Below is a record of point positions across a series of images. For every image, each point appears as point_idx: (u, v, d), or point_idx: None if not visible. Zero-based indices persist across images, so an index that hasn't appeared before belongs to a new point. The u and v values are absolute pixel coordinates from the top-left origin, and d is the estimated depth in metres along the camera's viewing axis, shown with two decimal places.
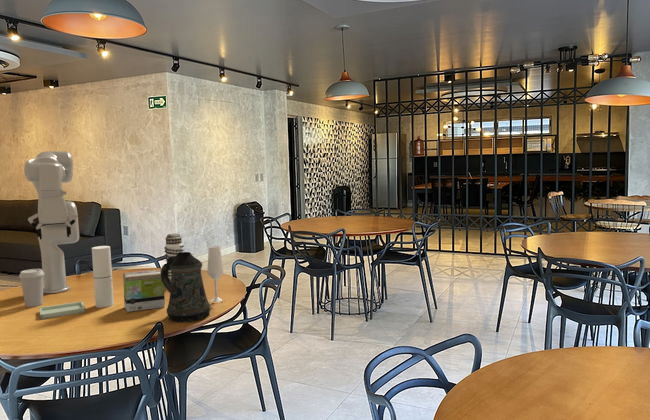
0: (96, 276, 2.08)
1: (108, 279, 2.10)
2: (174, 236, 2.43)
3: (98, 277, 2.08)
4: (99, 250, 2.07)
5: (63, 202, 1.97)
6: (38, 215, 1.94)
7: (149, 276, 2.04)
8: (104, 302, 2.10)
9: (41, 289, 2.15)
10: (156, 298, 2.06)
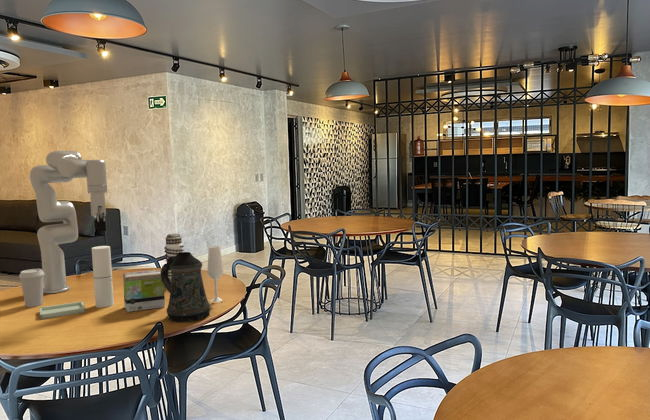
0: (96, 276, 2.08)
1: (108, 279, 2.10)
2: (174, 236, 2.43)
3: (98, 277, 2.08)
4: (99, 250, 2.07)
5: None
6: (103, 208, 2.05)
7: (149, 276, 2.04)
8: (104, 302, 2.10)
9: (41, 289, 2.15)
10: (156, 298, 2.06)
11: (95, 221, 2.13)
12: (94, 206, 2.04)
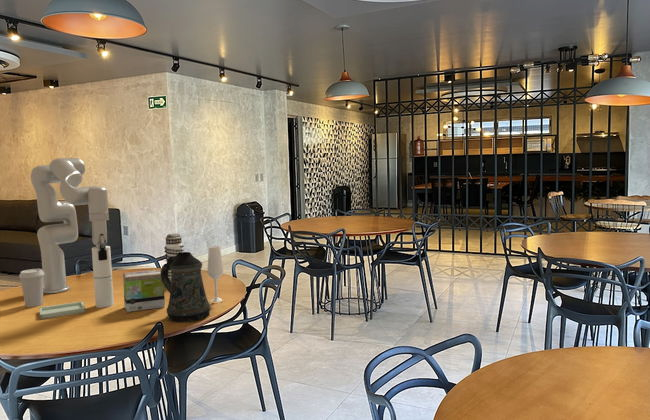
0: (97, 276, 2.08)
1: (108, 279, 2.10)
2: (174, 236, 2.43)
3: (98, 277, 2.08)
4: None
5: None
6: (105, 236, 2.07)
7: (149, 276, 2.04)
8: (104, 302, 2.10)
9: (41, 289, 2.15)
10: (156, 298, 2.06)
11: None
12: (96, 234, 2.05)
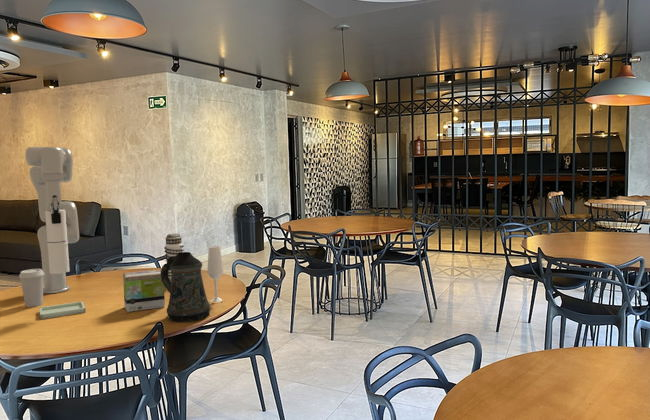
0: (50, 241, 1.98)
1: (63, 244, 2.00)
2: (174, 236, 2.43)
3: (52, 241, 1.98)
4: None
5: None
6: (58, 198, 1.96)
7: (149, 276, 2.04)
8: (58, 268, 1.99)
9: (41, 289, 2.15)
10: (156, 298, 2.06)
11: None
12: (48, 196, 1.94)
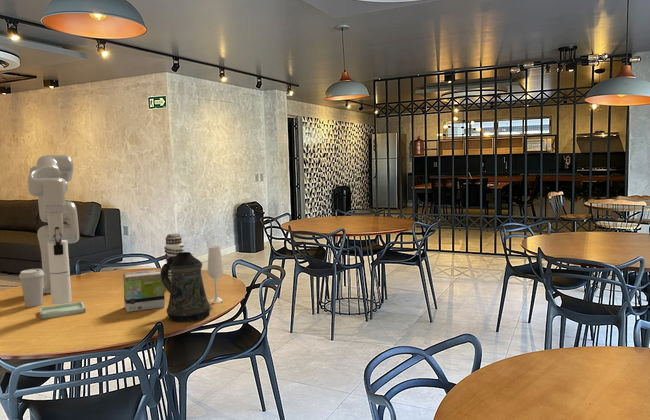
0: (52, 272, 1.99)
1: (65, 275, 2.01)
2: (174, 236, 2.43)
3: (54, 272, 1.99)
4: None
5: None
6: (60, 229, 1.97)
7: (149, 276, 2.04)
8: (60, 299, 2.00)
9: (41, 289, 2.15)
10: (156, 298, 2.06)
11: None
12: (50, 227, 1.96)
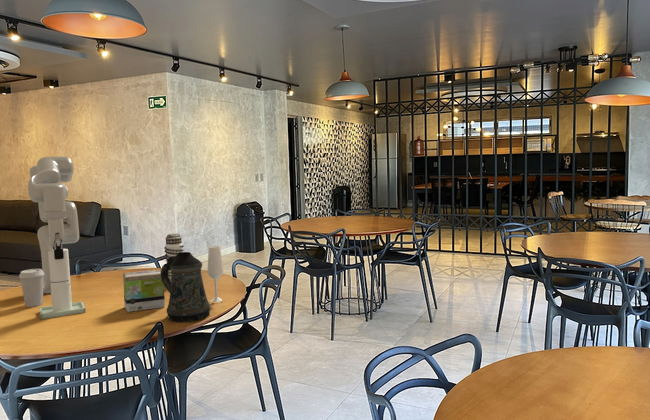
0: (53, 280, 2.00)
1: (65, 283, 2.02)
2: (174, 236, 2.43)
3: (55, 281, 2.00)
4: None
5: None
6: (61, 235, 1.97)
7: (149, 276, 2.04)
8: (61, 307, 2.01)
9: (41, 289, 2.15)
10: (156, 298, 2.06)
11: (54, 247, 2.05)
12: (51, 233, 1.96)
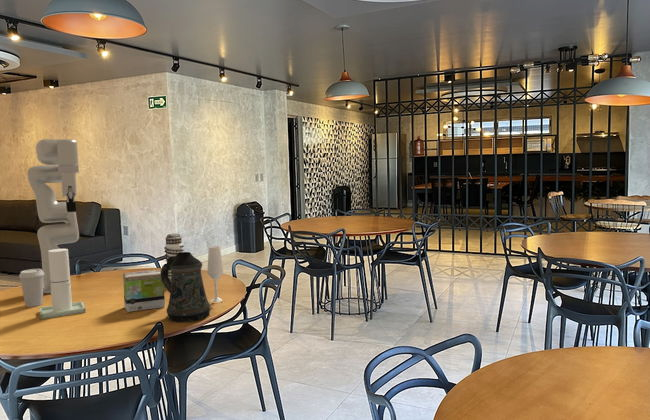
0: (53, 280, 2.00)
1: (65, 283, 2.02)
2: (174, 236, 2.43)
3: (55, 281, 2.00)
4: (55, 253, 1.99)
5: None
6: (73, 188, 2.03)
7: (149, 276, 2.04)
8: (61, 307, 2.01)
9: (41, 289, 2.15)
10: (156, 298, 2.06)
11: (67, 201, 2.11)
12: (64, 186, 2.01)
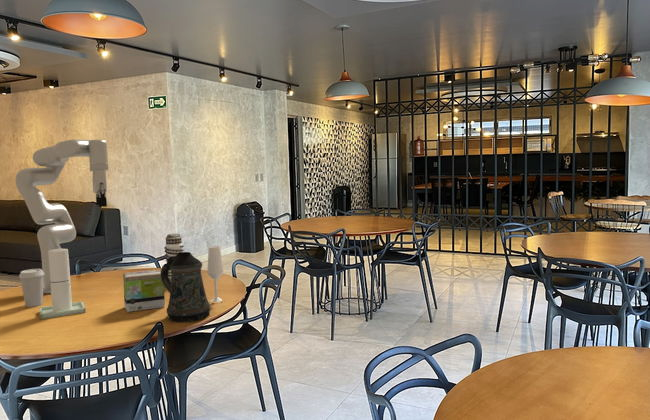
0: (53, 280, 2.00)
1: (65, 283, 2.02)
2: (174, 236, 2.43)
3: (55, 281, 2.00)
4: (55, 253, 1.99)
5: None
6: (104, 185, 2.20)
7: (149, 276, 2.04)
8: (61, 307, 2.01)
9: (41, 289, 2.15)
10: (156, 298, 2.06)
11: (97, 197, 2.27)
12: (96, 183, 2.18)
